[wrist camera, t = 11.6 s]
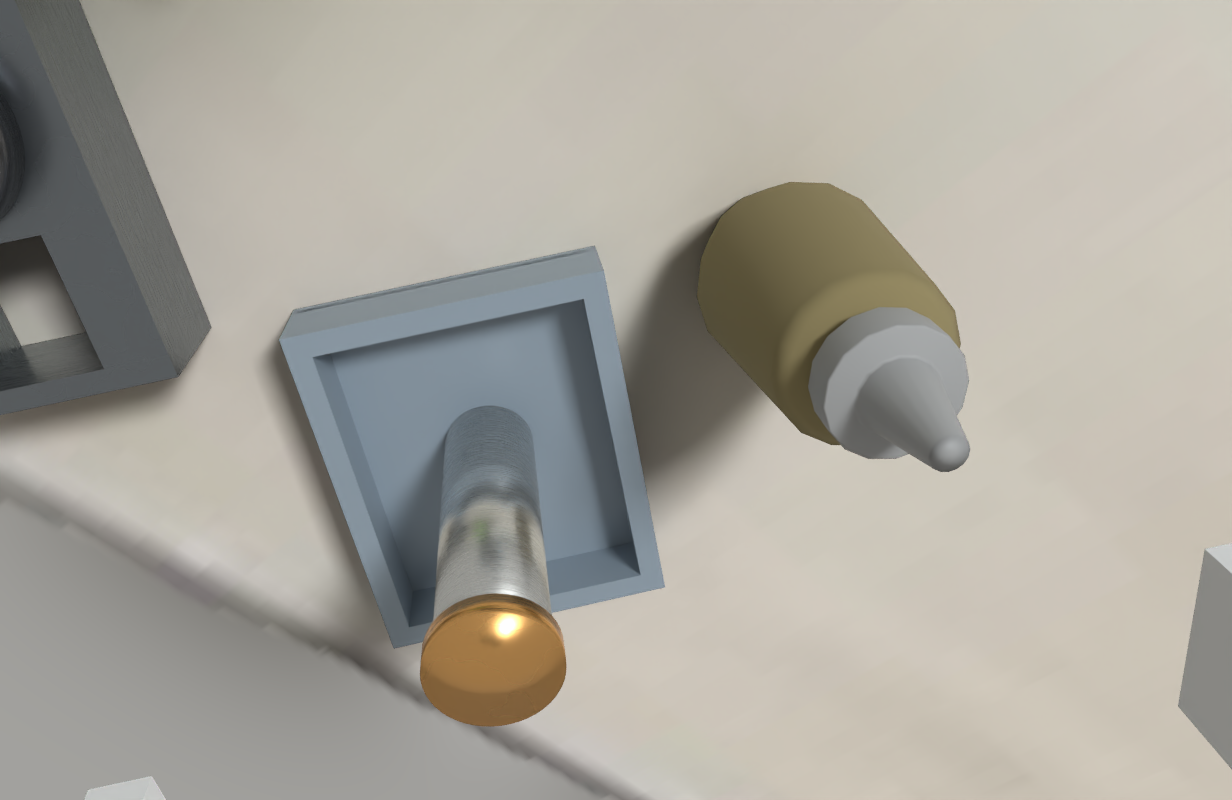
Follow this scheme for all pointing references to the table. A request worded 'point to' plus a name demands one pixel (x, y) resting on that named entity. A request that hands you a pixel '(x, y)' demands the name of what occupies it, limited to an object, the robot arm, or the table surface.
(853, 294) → the squeeze bottle
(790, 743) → the table surface
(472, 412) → the glass jar with lid
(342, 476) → the parts tray
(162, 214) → the grey boxy piece
